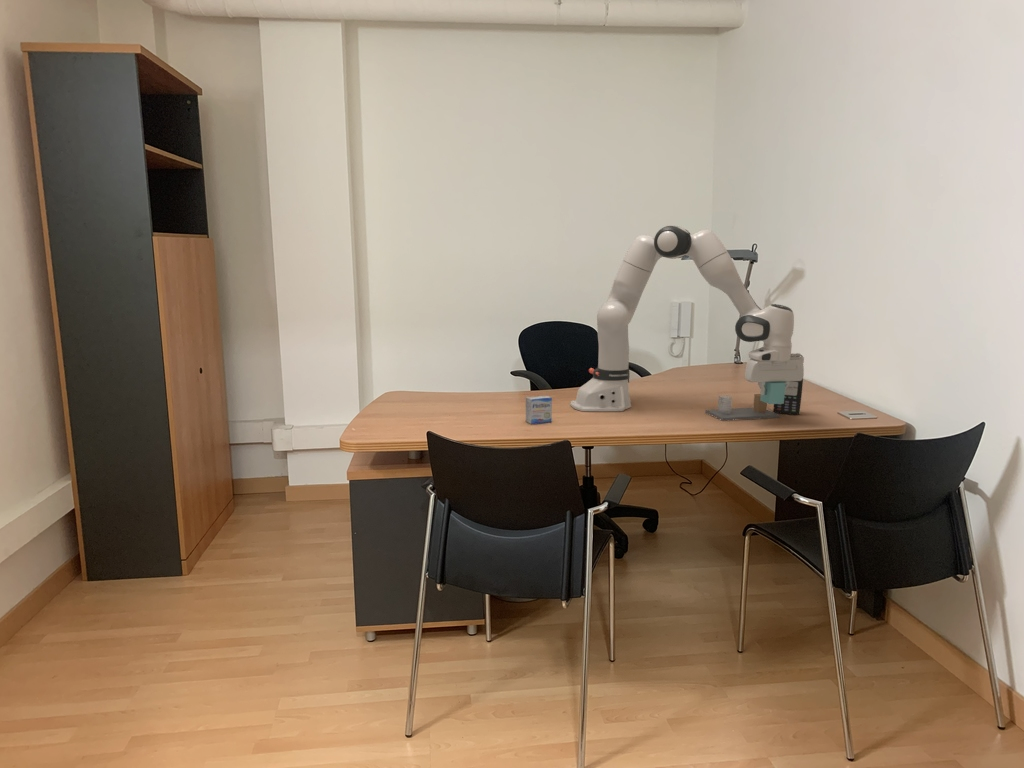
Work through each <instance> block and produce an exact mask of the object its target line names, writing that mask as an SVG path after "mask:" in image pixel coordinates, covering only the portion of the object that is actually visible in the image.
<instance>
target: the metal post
mask: <svg viewBox="0 0 1024 768" xmlns="http://www.w3.org/2000/svg"><path fill="white" fill-rule="evenodd" d="M732 400H733V399H732V397H731V396H729V395H719V396H718V400H717V401H718V403H717V409H718V413H720V414H722V415H725V414H731V408H732Z"/></svg>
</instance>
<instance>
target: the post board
mask: <svg viewBox="0 0 1024 768" xmlns="http://www.w3.org/2000/svg"><path fill="white" fill-rule="evenodd" d="M760 398H761V394H760V393H754V397H753V406H752V407H750V406H749V407H735V408H733V407H731V414H725V415H722V414H720V413H718V408H717V409H716V408H715V409H714V408H713V409H704V410H705V412H706V413H705V414H707V413H708V414H707V415H709V414H710V415H709V416H711V415H713V416H715V417H717V418H719V419H721V420H720V421H722V420H729V421H736V420H735V419H746V420H759V419H760V420H761V419H762V420H764V419H776V418H777V419H778V418H779V419H780V413H776V412H774V411H771V410H770V409H767V406H768V403H765V402H763V401H760ZM713 416H712V417H713ZM715 417H714V418H715ZM717 418H716V419H717ZM719 419H718V420H719ZM733 419H734V420H733Z"/></svg>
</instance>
